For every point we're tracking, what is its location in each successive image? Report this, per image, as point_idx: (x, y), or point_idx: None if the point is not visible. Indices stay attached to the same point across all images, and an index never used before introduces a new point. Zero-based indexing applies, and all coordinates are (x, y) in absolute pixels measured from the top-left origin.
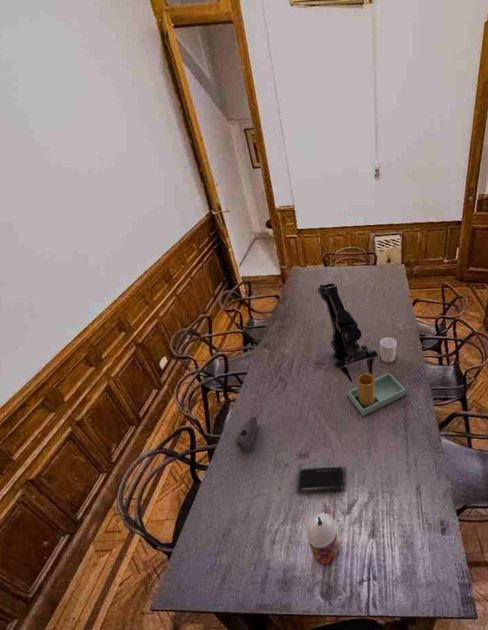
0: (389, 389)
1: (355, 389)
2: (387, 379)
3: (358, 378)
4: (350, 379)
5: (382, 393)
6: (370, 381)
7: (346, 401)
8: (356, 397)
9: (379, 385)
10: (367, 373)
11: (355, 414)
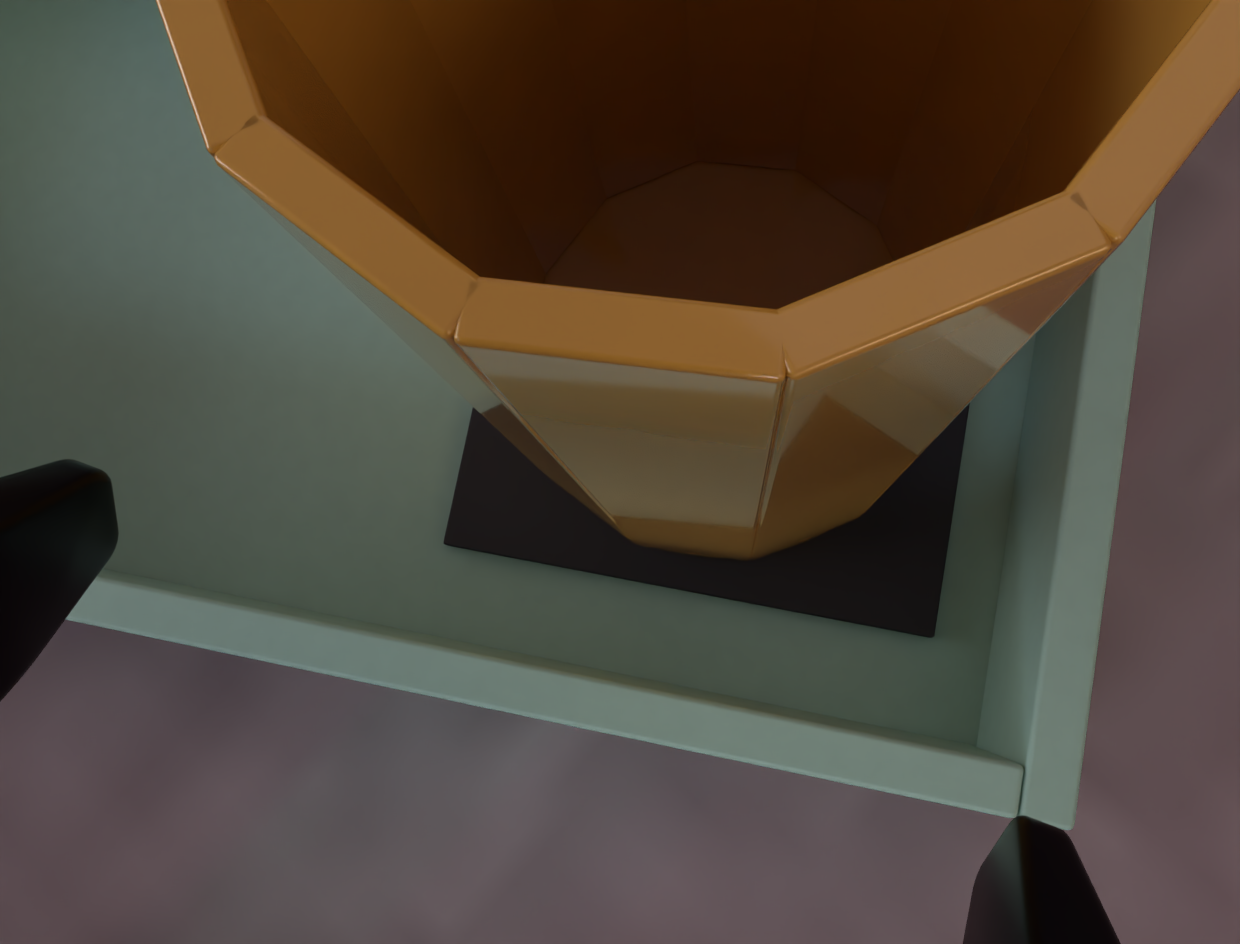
0: (87, 248)
1: (815, 724)
2: None
3: (1080, 194)
4: (1087, 940)
5: (293, 265)
6: (390, 189)
7: (1139, 715)
8: (875, 595)
9: (146, 505)
10: (222, 155)
11: (1215, 236)
